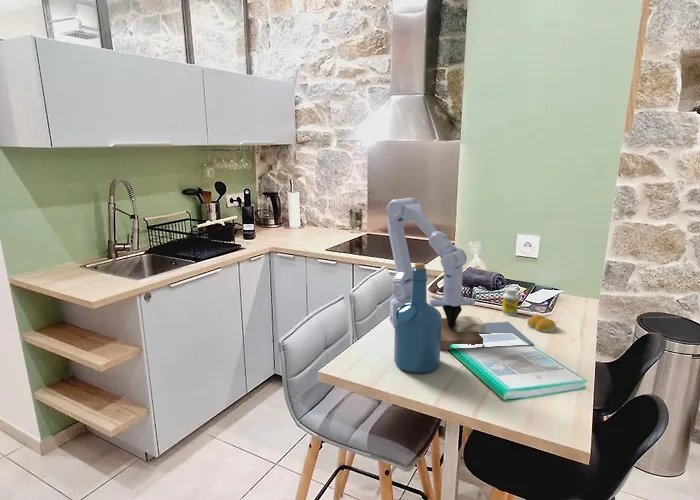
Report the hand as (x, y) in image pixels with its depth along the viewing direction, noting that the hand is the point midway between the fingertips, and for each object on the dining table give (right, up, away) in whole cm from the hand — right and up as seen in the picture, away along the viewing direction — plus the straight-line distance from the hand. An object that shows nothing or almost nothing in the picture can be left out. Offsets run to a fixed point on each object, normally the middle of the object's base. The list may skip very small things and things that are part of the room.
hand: (450, 326), depth 146 cm
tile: (+6, 0, +1) cm, 6 cm away
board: (0, -4, +1) cm, 4 cm away
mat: (+16, -3, +2) cm, 16 cm away
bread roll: (+33, -2, +8) cm, 34 cm away
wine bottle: (-14, -8, -17) cm, 23 cm away
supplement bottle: (+27, +1, +21) cm, 34 cm away
